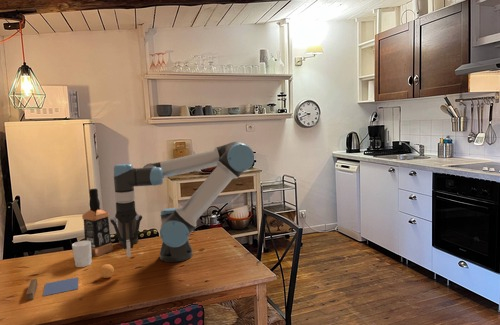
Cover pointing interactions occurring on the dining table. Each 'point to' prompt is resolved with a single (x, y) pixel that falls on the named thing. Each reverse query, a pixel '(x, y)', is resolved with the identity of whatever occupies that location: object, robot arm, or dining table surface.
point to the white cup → (82, 253)
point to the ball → (106, 271)
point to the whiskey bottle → (97, 226)
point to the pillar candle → (127, 231)
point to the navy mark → (60, 286)
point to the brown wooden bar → (31, 289)
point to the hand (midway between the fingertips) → (128, 255)
